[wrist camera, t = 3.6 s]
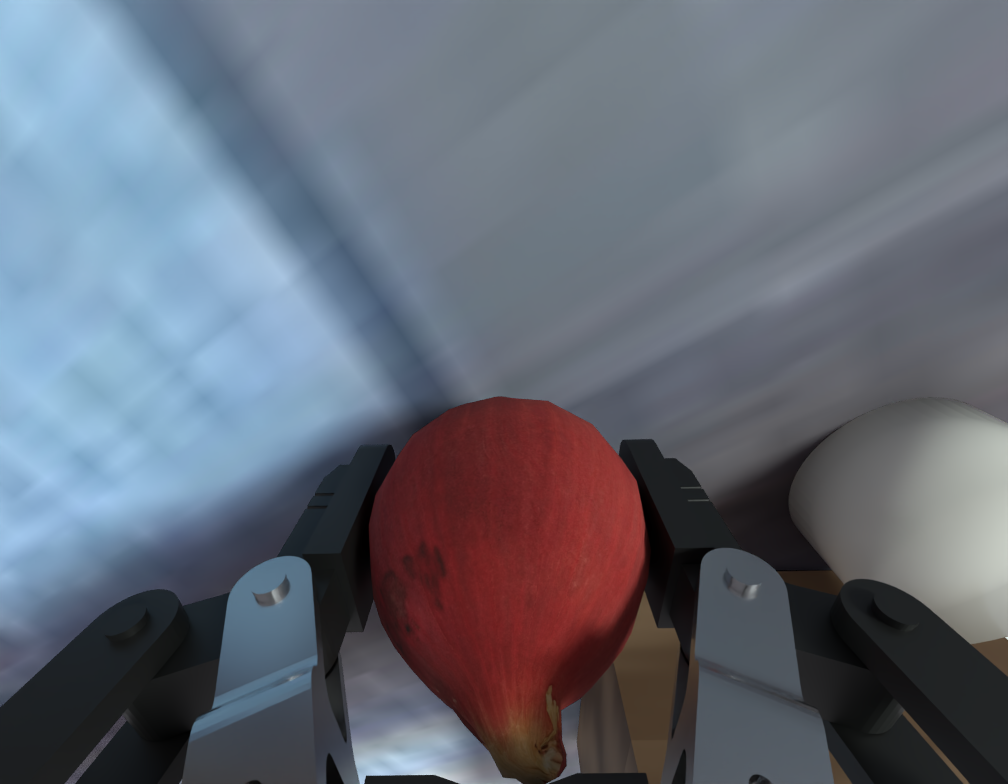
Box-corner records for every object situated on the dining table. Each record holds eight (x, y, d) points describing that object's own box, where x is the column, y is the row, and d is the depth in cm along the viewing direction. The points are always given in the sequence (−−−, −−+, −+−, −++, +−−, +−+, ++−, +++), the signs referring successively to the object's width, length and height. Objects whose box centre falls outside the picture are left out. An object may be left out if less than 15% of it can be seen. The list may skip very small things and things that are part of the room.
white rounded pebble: (819, 398, 12) (931, 475, 9) (1032, 393, 12) (1220, 469, 9) (765, 548, 15) (836, 647, 12) (937, 544, 15) (1055, 644, 11)
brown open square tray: (593, 574, 15) (642, 791, 10) (929, 568, 15) (1167, 786, 10) (576, 741, 21) (601, 939, 15) (822, 739, 20) (934, 937, 15)
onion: (451, 527, 14) (397, 885, 7) (375, 381, 12) (169, 706, 4) (622, 485, 13) (759, 842, 6) (579, 318, 11) (725, 593, 4)
